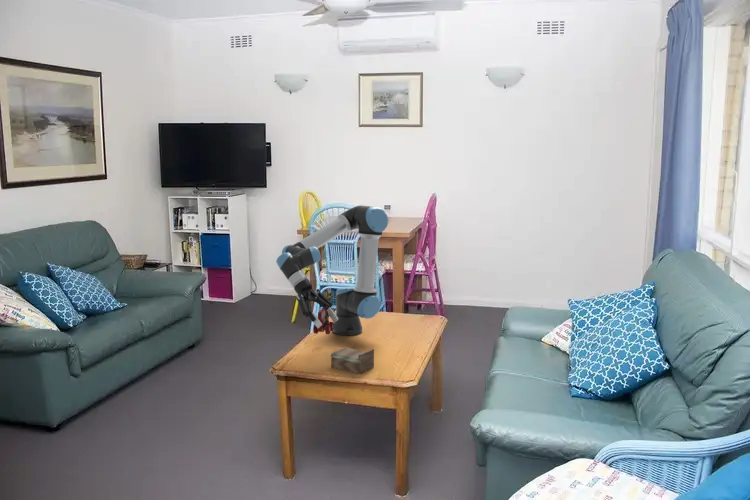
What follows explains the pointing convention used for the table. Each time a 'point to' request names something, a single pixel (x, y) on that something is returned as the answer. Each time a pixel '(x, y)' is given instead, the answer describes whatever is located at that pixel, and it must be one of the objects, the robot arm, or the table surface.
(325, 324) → the toy fire truck
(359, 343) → the table surface
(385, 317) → the table surface
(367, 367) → the stand
